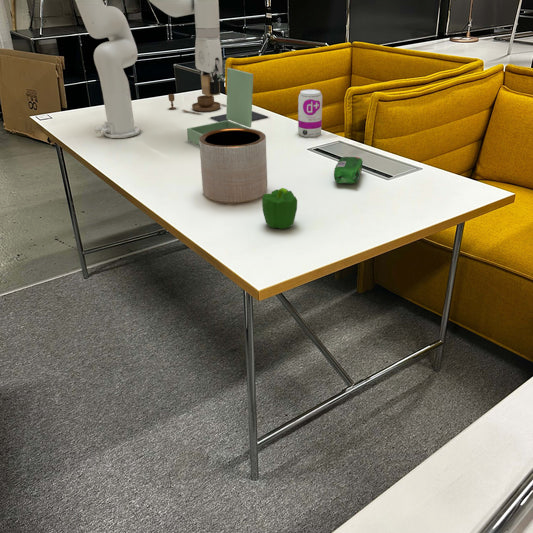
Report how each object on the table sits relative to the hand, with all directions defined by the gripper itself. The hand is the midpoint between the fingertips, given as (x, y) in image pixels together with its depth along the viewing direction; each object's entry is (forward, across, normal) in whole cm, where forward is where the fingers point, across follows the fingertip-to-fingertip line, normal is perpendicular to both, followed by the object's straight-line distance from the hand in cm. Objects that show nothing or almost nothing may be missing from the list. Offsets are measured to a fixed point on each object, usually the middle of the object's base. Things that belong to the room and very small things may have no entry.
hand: (210, 91), depth 185 cm
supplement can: (+17, +14, +32) cm, 38 cm away
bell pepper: (+17, +68, -22) cm, 73 cm away
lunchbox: (+17, +1, +2) cm, 17 cm away
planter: (+17, +44, -19) cm, 50 cm away
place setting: (+18, -46, +20) cm, 53 cm away
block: (+1, 0, 0) cm, 1 cm away
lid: (+3, +1, +10) cm, 11 cm away
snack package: (+16, +55, +12) cm, 59 cm away
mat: (+17, -21, +24) cm, 36 cm away
